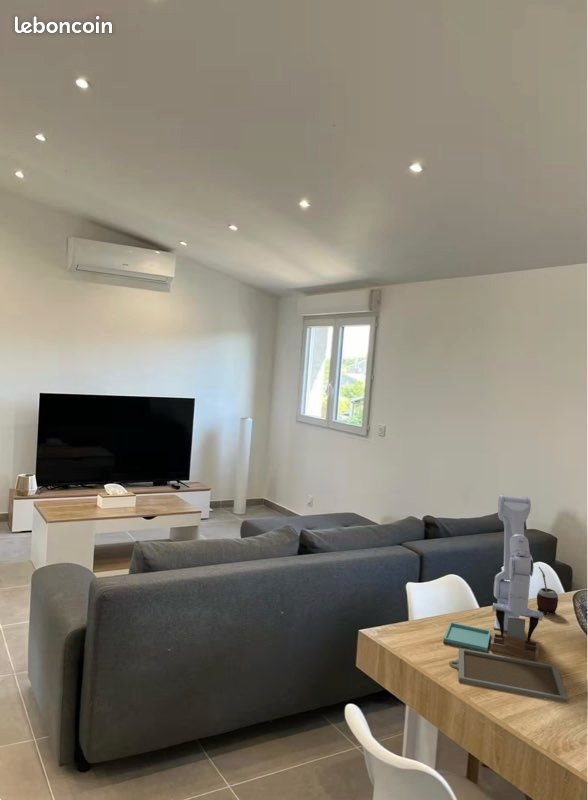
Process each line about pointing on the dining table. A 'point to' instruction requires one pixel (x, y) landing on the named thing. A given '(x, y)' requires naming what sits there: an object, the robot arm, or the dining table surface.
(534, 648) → the rack
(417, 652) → the dining table surface
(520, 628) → the slate gray block
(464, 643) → the tray
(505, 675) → the gray framed board
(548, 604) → the mate gourd
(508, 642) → the offcut upper
